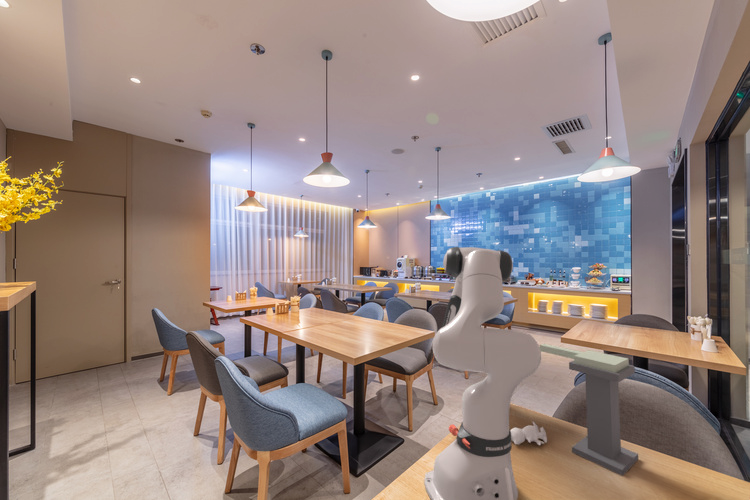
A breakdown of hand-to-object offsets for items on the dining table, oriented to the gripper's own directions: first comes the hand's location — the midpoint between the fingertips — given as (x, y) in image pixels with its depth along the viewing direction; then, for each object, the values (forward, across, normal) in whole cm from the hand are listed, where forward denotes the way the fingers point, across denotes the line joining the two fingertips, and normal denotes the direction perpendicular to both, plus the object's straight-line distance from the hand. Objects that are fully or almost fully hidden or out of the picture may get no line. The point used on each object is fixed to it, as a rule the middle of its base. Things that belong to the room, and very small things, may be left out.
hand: (516, 343), depth 110 cm
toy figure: (+4, -7, +30) cm, 31 cm away
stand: (+19, +6, +32) cm, 37 cm away
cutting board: (+19, +3, +5) cm, 20 cm away
